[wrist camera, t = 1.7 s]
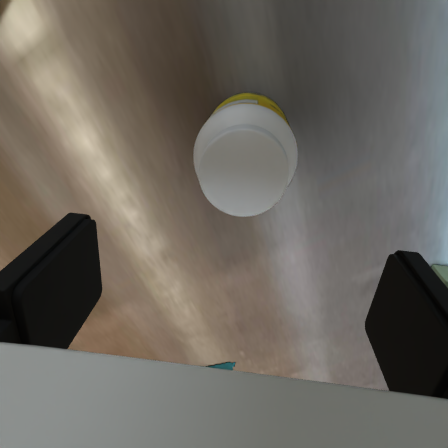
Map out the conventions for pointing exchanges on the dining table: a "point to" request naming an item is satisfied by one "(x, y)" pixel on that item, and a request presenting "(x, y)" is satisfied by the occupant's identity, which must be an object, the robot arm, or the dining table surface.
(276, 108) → the pill bottle
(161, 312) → the dining table surface
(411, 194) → the dining table surface
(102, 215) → the dining table surface
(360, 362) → the dining table surface
